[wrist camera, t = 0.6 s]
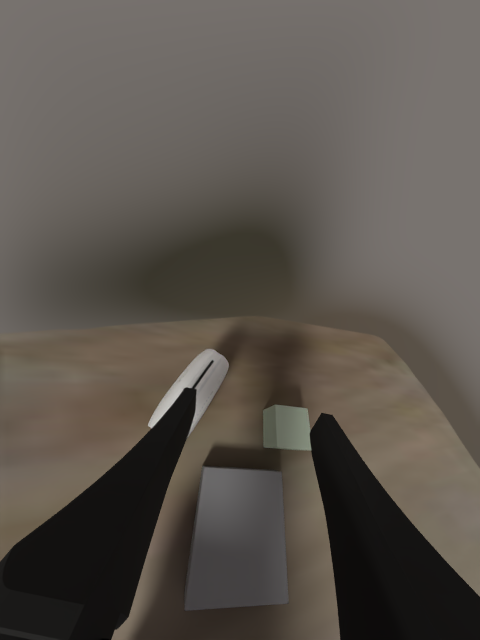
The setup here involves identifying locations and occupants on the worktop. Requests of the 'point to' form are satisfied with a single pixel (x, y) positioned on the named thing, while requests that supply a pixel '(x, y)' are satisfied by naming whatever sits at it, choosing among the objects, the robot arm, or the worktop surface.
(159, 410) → the photo printer
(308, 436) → the green cube
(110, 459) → the worktop surface
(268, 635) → the worktop surface
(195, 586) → the grey block
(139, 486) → the robot arm
